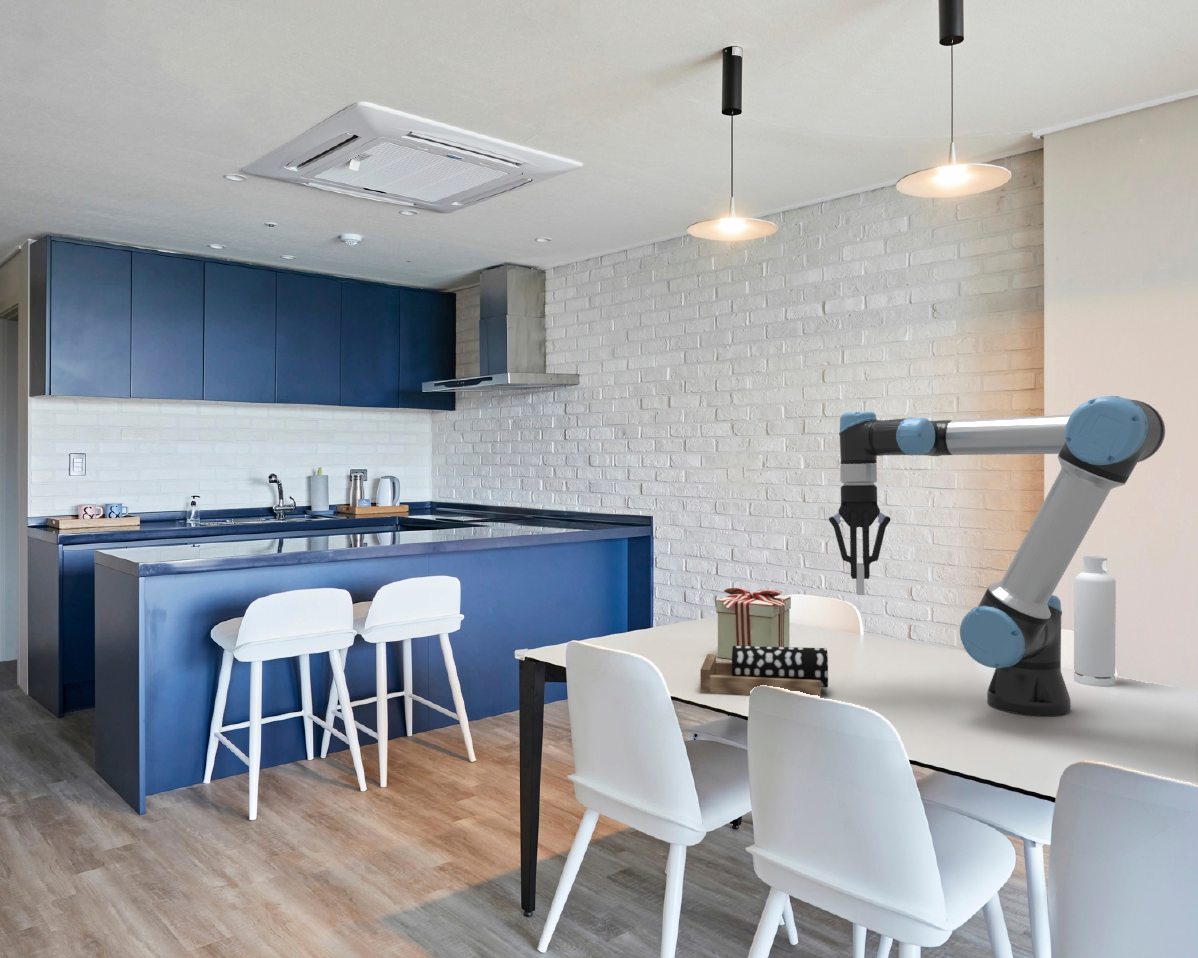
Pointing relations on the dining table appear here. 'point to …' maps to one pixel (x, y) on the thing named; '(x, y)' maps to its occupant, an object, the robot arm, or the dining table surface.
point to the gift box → (752, 620)
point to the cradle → (746, 680)
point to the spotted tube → (781, 662)
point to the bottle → (1094, 624)
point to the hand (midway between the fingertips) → (860, 594)
